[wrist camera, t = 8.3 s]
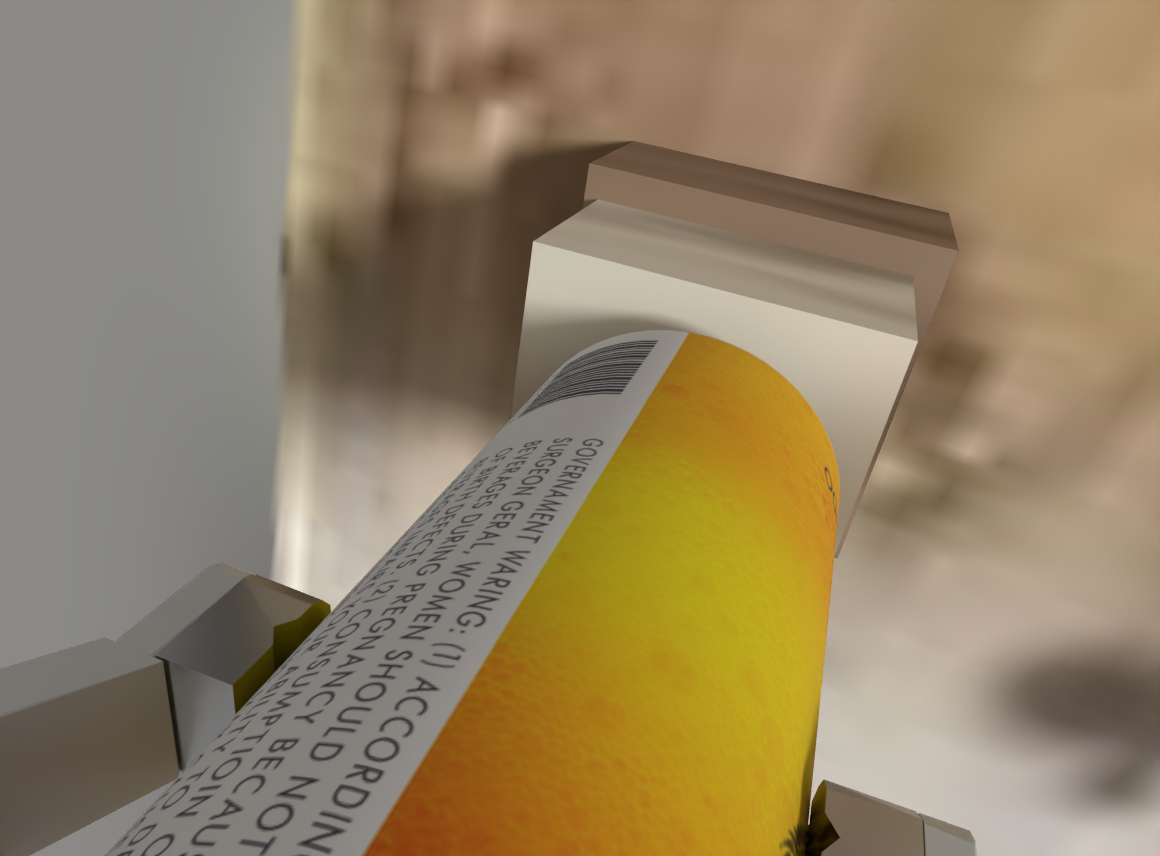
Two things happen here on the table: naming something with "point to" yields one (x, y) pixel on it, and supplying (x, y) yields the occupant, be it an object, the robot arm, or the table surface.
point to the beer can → (561, 641)
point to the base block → (787, 222)
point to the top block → (727, 314)
